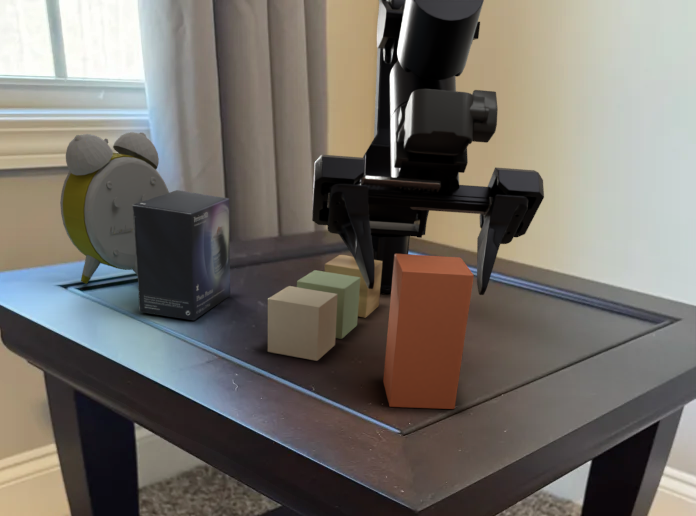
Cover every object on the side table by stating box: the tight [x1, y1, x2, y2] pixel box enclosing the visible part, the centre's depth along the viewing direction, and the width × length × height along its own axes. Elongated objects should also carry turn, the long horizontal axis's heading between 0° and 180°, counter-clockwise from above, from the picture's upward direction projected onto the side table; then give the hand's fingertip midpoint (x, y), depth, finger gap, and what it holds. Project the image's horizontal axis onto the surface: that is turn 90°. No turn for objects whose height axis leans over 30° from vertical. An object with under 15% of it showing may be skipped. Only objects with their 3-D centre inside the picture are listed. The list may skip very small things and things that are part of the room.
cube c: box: [267, 285, 338, 362], centre depth 72 cm, size 5×5×5 cm
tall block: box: [382, 253, 475, 410], centre depth 63 cm, size 6×6×11 cm
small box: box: [132, 189, 231, 321], centre depth 80 cm, size 11×6×10 cm, turn 168°
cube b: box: [296, 269, 360, 340], centre depth 78 cm, size 5×5×5 cm
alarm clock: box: [60, 131, 170, 285], centre depth 84 cm, size 12×7×15 cm, turn 144°
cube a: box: [324, 254, 382, 318], centre depth 85 cm, size 5×5×5 cm
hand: (427, 289), depth 62 cm, fingers open, 9 cm apart
